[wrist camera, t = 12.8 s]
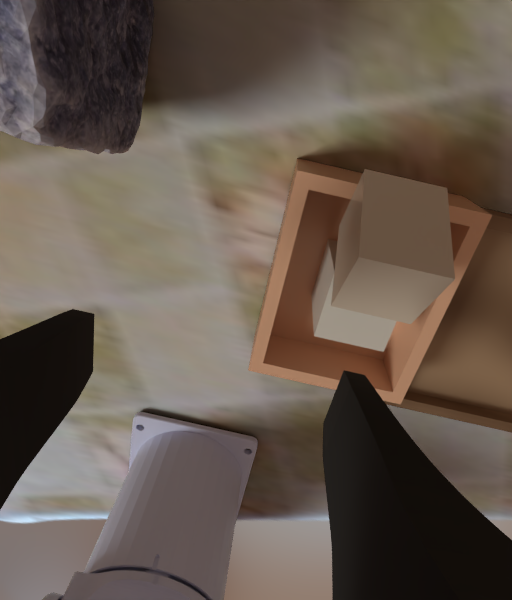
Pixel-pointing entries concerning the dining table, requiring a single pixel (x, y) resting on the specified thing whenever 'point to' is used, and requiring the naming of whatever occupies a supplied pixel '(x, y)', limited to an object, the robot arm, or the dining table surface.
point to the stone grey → (344, 312)
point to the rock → (74, 71)
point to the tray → (473, 341)
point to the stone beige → (393, 248)
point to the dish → (301, 278)
